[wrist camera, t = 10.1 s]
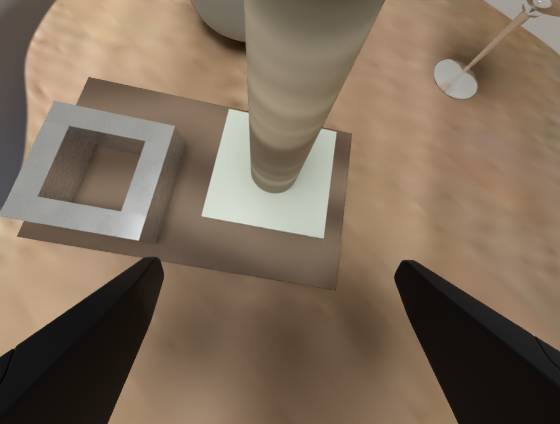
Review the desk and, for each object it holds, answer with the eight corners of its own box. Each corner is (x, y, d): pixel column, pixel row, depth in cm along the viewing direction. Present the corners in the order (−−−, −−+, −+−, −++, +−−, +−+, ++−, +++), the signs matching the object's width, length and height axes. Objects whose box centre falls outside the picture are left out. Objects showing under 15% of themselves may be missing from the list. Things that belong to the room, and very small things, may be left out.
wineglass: (439, 41, 24) (613, -168, 12) (493, 73, 24) (723, -108, 12) (415, 83, 22) (589, -110, 11) (473, 118, 22) (716, -41, 10)
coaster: (321, 239, 17) (323, 238, 16) (203, 217, 16) (201, 216, 16) (334, 135, 19) (336, 131, 18) (229, 112, 18) (228, 108, 18)
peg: (286, 212, 16) (489, -109, 2) (230, 180, 16) (84, -326, 2) (315, 162, 17) (560, -248, 3) (263, 132, 17) (296, -387, 4)
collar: (157, 243, 15) (138, 240, 13) (41, 223, 15) (-2, 216, 12) (186, 144, 17) (175, 125, 15) (83, 124, 17) (54, 100, 14)
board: (330, 288, 17) (335, 290, 16) (34, 238, 16) (17, 236, 14) (346, 141, 20) (351, 133, 19) (99, 88, 19) (88, 77, 17)
